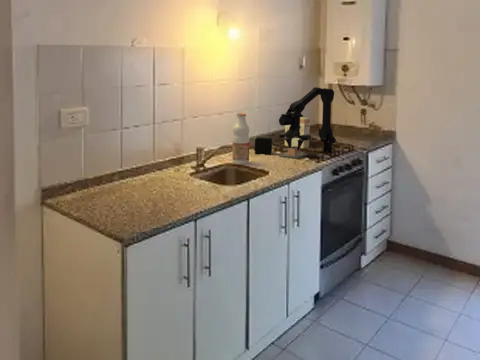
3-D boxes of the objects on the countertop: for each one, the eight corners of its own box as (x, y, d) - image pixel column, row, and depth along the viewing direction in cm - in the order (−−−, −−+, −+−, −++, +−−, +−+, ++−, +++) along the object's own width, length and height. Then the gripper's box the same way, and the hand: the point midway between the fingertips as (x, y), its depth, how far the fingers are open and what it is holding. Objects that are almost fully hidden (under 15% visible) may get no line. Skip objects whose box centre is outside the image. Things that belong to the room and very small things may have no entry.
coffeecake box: (309, 147, 351) (310, 117, 346) (303, 148, 345) (304, 118, 341) (290, 144, 360) (291, 115, 355) (284, 145, 354) (285, 116, 350)
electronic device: (270, 155, 324) (271, 138, 321) (254, 154, 326) (254, 138, 323) (271, 153, 328) (272, 137, 325) (255, 152, 330) (256, 137, 327)
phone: (293, 152, 327) (293, 146, 326) (300, 153, 324) (300, 147, 323) (287, 154, 320) (287, 148, 319) (294, 155, 318) (294, 149, 317)
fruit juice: (229, 162, 302) (229, 113, 295) (242, 160, 307) (243, 112, 300) (238, 165, 294) (239, 115, 287) (252, 163, 300) (253, 114, 293)
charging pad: (290, 152, 332) (290, 151, 331) (308, 155, 326) (308, 153, 325) (279, 156, 319) (279, 155, 319) (297, 159, 313) (297, 157, 313)
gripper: (275, 124, 316) (274, 150, 320) (303, 127, 306) (302, 154, 310) (283, 122, 325) (282, 147, 329) (311, 125, 316) (310, 151, 320)
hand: (294, 150), depth 322 cm, fingers open, 5 cm apart
